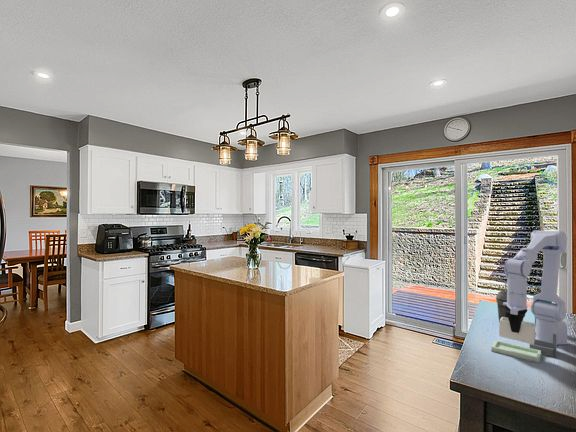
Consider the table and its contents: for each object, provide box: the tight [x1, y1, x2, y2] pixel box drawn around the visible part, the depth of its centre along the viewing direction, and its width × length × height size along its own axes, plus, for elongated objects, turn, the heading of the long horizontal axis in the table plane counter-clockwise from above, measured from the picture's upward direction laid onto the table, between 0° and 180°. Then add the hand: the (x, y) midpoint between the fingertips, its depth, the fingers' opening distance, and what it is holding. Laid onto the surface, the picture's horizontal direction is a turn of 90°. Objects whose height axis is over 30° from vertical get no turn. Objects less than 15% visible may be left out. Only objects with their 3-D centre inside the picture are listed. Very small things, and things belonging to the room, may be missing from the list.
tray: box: [491, 340, 542, 364], centre depth 112 cm, size 14×9×2 cm, turn 48°
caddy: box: [498, 317, 536, 345], centre depth 112 cm, size 10×5×6 cm, turn 48°
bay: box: [529, 328, 557, 358], centre depth 114 cm, size 7×8×8 cm
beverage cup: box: [495, 281, 509, 323], centre depth 142 cm, size 7×7×20 cm
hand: (516, 330), depth 112 cm, fingers closed on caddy, 5 cm apart
